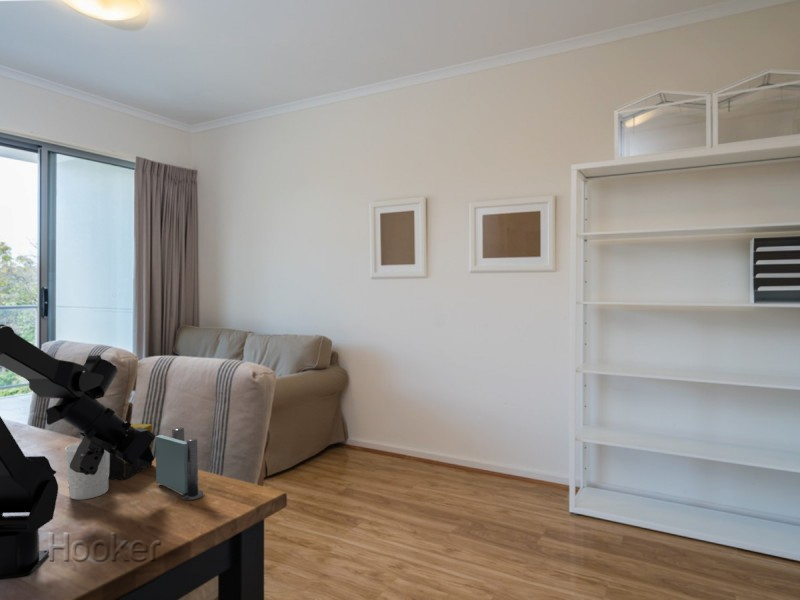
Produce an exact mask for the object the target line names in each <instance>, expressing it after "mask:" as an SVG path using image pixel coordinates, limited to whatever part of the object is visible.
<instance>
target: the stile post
mask: <svg viewBox="0 0 800 600" xmlns="http://www.w3.org/2000/svg"><path fill="white" fill-rule="evenodd" d="M171 434H172V435H171V438H174V439H178V440H181V441H185V427H183V426H182V427H181V426H180V427H174V428H172V430H171Z"/></svg>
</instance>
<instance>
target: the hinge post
mask: <svg viewBox="0 0 800 600" xmlns="http://www.w3.org/2000/svg"><path fill="white" fill-rule="evenodd" d="M186 442H187V490H188V492H187V493H185V494H183V495H182V496H181V498H182V501H186V502H187V501H188V502H192V501H196V500H199V499H202V498H203V497H204V492H203V490H202V491H201V490H199V464H198V463H199V461H198V459H199V456H198V455H199V454H198V451H199V450H198V448H199V447H198V438H188V439H187V440H186Z"/></svg>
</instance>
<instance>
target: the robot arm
mask: <svg viewBox="0 0 800 600" xmlns="http://www.w3.org/2000/svg"><path fill="white" fill-rule="evenodd" d="M0 367H2V368H4V369H7V370H8V371H10V372H12V373H13V374H16V375H18V376H20V377H21V378H24V379H25V380H26V381H28V388H29V389H30V391H32V392H33V393H34V394H35V395H37V397H38V398H41V399H44V400H45V399H58V400H57V401H56V403H55V405H53V406H50V407H48V408H47V409H46V410H45V412H46V424H47V425H48V426H50V425H53V424H55V423H57V422H59V421H62V420H63V421H64V422H66V423H68V425H70V426H71V427H73V428H74V429H76V430H77V431H78V434H79V435H80V436H81V437H83V438H82V439H81V441H80V442H81V443H80V444H79V446H78V448H77V450H76V452H75V455H74V457H73V459H72V461H71V463H70V469H72V470H73V471H75V472H78V473H84V474H85V475H88V474H90V475H94V474H95V473H96V472H97V470H98V466H99V464H100V461H101V459H102V456H103V454H104V450H106V451H107V452H108V453H110V454H112V455H116V457H117V458H119V459H121V460H123V461H124V462H126V463H128V464H130V465H132V464H133V463H135V462H136V460H137V459H141V460H143V461H146V462H148V463H152V464H153V462H154V460H155V457H154V455H153V451H152V449H151V450H150V447H149V445H150V444H152V442H153V441H154V440H156V439H155V436H156V435H155V434H154V433H153V432H152V433H151V432H150V431H149V430H147V429H144V428H142V427H138V428H133V427H130V426H131V425H132V424H133V423H131V422H129V421H128V420H125V419H123V418H122V417H120V415H118V414H117V413H116V411H114V410H113V409H112V408H109V407H106V406H105V405H104V404H103V403H101V402H100V401H98V400H99V399H102V398H104V397H105V395H106V393H107V391H108V390H109V388H110V386H111V385H112V382H113V381H114V379H115V377H116V376H117V374H118V368H117V366H116V365H115V364H113V363H112V362H110V361H109V360H106V359H103V358H102V357H101V355H100V354H96V355H95V354H94V355H93V354H91V355H90V354H89V355H88V357H87V359H86V360H85V362H84V364H80V363H77V362H74V361H69V360H63V359H58V358H55V357H53V356H51V355H50V354H49V353H48V352H45V351H44V350H42V349H41V348H39V347H37V346H36V345H35V344H32V343H31V342H30V341H28V340H26V339H25V338H23V337H22V336H20V335H18V334H17V333H15V331H14V329H13V328H12V327H11V326H9V325H6V324H0ZM151 451H152V452H151ZM56 474H57V470H55V469H53V467H52V466H51V463H50V461H49V459H48V458H47V457H46V456H44V455H38V456H37V455H35V456H33V455H32V456H30V455H29V456H28V455H27V456H25V453H24V452H23V451H22V449H21V447H20V446H19V444H18V442H17V441H16V439H15V438H14V435H13V434H12V433H11V431H10V430H9V428H8V426H7V425H6V423H5V421H4V420H3V418H2V417H1V415H0V579H6V578H7V579H9V578H17V577H25V576H29V575H31V574H32V573H33V572H34V571H35V570H36V568H37V567H38V566H39V565H40V564H41V563H42V562H43V561H44V560H45V559H46V558H47V557H48V556H49V554H50V550H49V549H45V550H40V542H39V541H40V540H39V535H40V534H39V529H41V528H42V527H44V526H46V524H48V523H49V522H50V521H52V520H53V519H54V514H55V509H56V505H57V499H58V494H59V484H58V480H57V478H56ZM18 513H19V514H21V513H24V515H3V514H18ZM25 513H26V514H27V513H28V515H25Z"/></svg>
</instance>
